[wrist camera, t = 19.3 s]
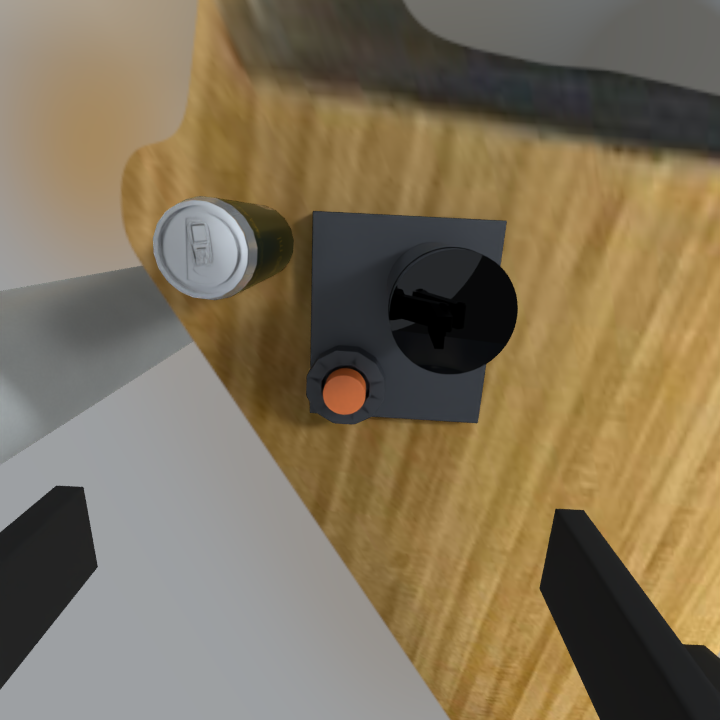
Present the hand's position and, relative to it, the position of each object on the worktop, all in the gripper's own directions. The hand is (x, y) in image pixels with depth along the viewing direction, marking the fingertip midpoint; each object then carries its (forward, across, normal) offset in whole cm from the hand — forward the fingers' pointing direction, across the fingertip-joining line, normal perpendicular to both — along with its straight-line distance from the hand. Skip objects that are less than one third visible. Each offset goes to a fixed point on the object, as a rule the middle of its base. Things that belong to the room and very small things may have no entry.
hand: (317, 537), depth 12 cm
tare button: (+22, 0, -4) cm, 22 cm away
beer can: (+25, -7, +7) cm, 27 cm away
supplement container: (+23, +6, +4) cm, 24 cm away
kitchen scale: (+24, +4, +1) cm, 25 cm away
